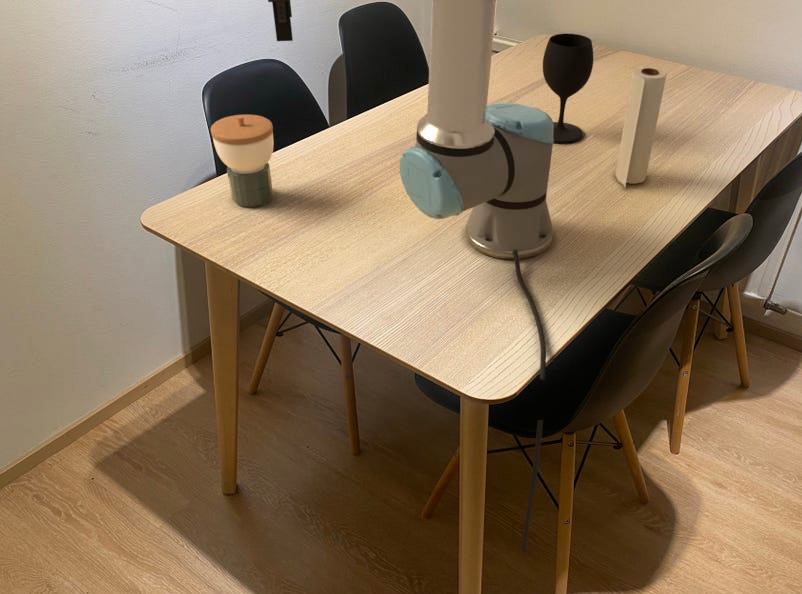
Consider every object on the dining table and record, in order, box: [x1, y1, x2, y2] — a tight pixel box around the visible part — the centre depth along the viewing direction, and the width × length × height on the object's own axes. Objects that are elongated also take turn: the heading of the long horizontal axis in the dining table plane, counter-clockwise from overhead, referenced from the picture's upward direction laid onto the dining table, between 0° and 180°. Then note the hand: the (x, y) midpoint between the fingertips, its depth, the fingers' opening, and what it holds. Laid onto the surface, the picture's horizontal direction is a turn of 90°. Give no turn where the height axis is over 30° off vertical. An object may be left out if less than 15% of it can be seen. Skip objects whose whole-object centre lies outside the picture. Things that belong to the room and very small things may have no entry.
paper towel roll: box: [615, 66, 667, 188], centre depth 148 cm, size 7×6×21 cm
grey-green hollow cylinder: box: [226, 162, 274, 208], centre depth 143 cm, size 8×8×6 cm
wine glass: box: [542, 33, 594, 144], centre depth 164 cm, size 10×10×20 cm
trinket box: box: [210, 114, 275, 174], centre depth 138 cm, size 11×11×9 cm
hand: (284, 28), depth 139 cm, fingers open, 13 cm apart
